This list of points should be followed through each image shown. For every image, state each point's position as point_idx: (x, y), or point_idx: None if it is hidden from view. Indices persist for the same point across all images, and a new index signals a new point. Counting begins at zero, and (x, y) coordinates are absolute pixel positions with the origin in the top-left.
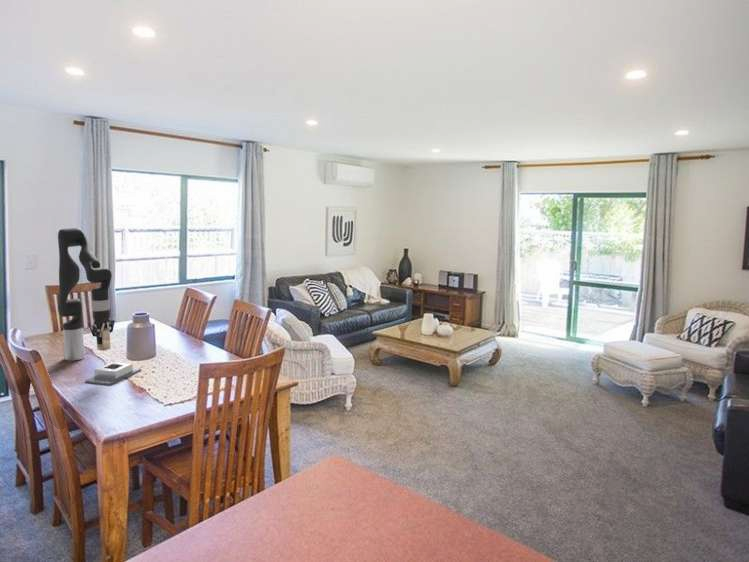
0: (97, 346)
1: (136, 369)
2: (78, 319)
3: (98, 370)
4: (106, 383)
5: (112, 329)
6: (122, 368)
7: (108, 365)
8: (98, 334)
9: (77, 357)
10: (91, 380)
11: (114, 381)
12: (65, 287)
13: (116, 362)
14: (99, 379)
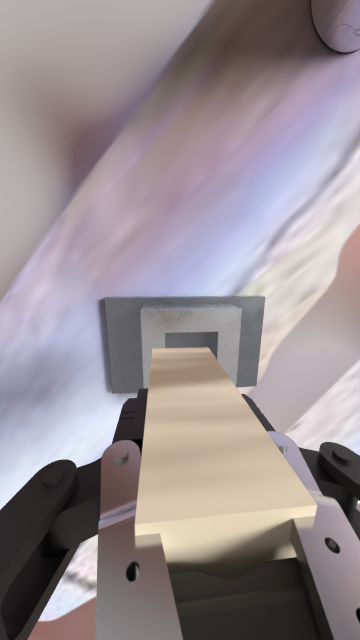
0: (151, 361)
1: (245, 379)
2: None
3: (141, 330)
4: (111, 380)
5: (357, 535)
6: None
7: (197, 329)
8: (71, 556)
9: (334, 27)
10: (111, 320)
11: (132, 391)
12: None
13: (237, 332)
14: (129, 338)
